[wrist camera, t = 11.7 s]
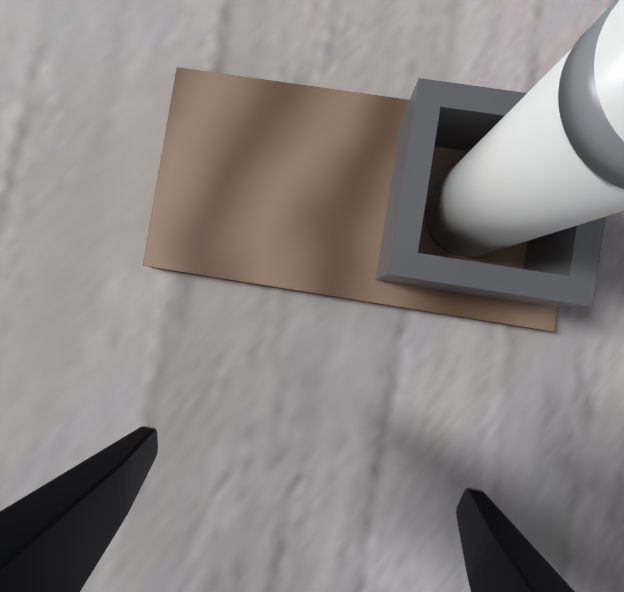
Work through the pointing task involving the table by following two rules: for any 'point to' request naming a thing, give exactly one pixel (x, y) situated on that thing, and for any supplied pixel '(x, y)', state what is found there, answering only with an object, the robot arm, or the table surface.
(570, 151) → the white capped cylinder
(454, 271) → the socket collar
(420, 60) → the table surface
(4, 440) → the table surface
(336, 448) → the table surface
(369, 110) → the board
